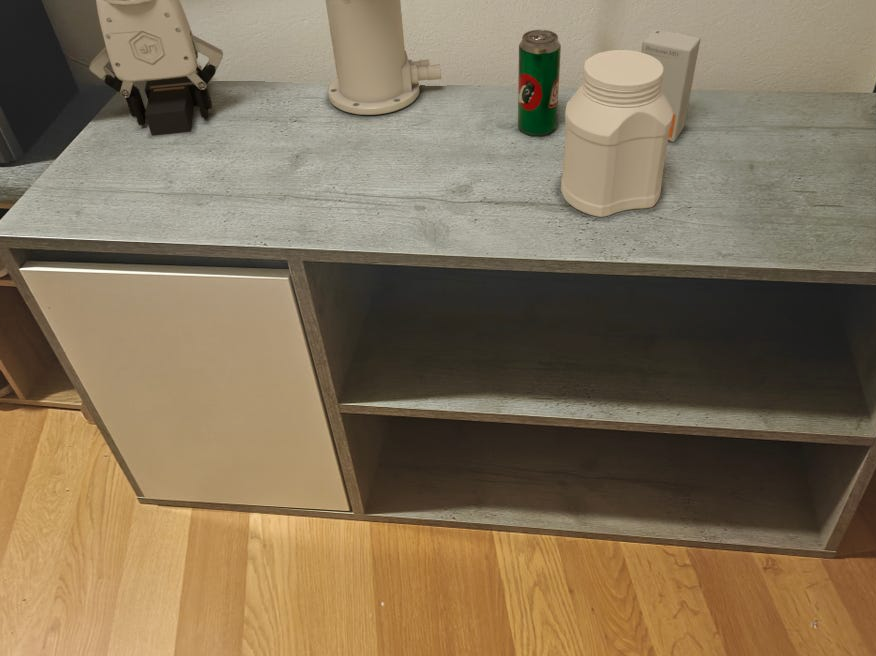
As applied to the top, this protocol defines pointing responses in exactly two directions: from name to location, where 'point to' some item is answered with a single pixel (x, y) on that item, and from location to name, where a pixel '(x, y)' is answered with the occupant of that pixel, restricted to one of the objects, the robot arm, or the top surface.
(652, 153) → the jar
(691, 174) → the top surface
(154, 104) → the black box
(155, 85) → the charcoal pad
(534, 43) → the soda can
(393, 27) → the robot arm
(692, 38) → the cosmetic box
